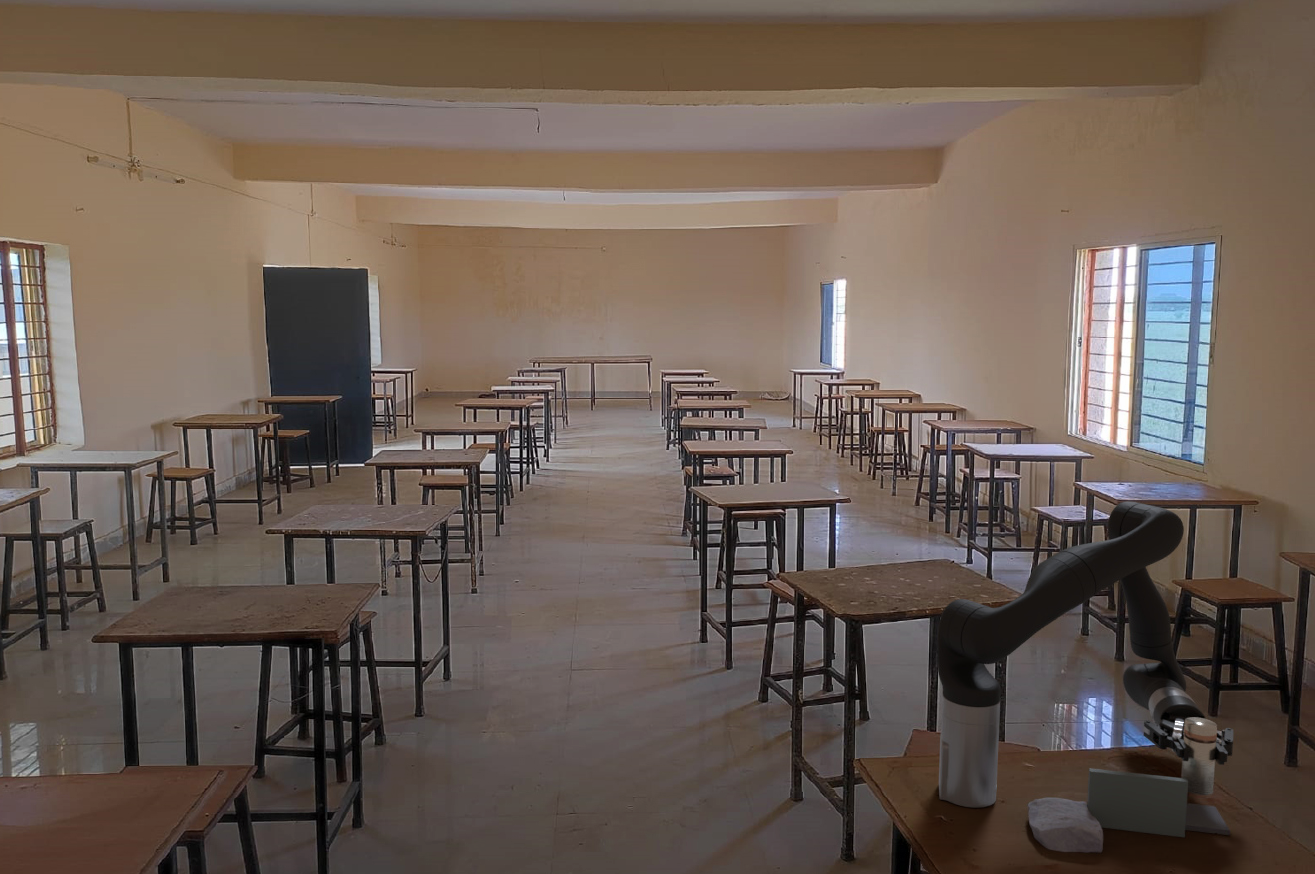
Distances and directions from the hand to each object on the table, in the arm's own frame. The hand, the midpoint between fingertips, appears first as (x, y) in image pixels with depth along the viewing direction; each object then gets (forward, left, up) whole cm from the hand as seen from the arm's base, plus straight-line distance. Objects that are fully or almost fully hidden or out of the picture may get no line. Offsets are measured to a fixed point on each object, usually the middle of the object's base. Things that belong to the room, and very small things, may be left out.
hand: (1204, 756), depth 153 cm
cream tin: (0, +3, -6) cm, 7 cm away
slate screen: (-10, -3, -12) cm, 16 cm away
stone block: (-22, -7, -12) cm, 26 cm away
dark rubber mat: (0, +3, -12) cm, 12 cm away
